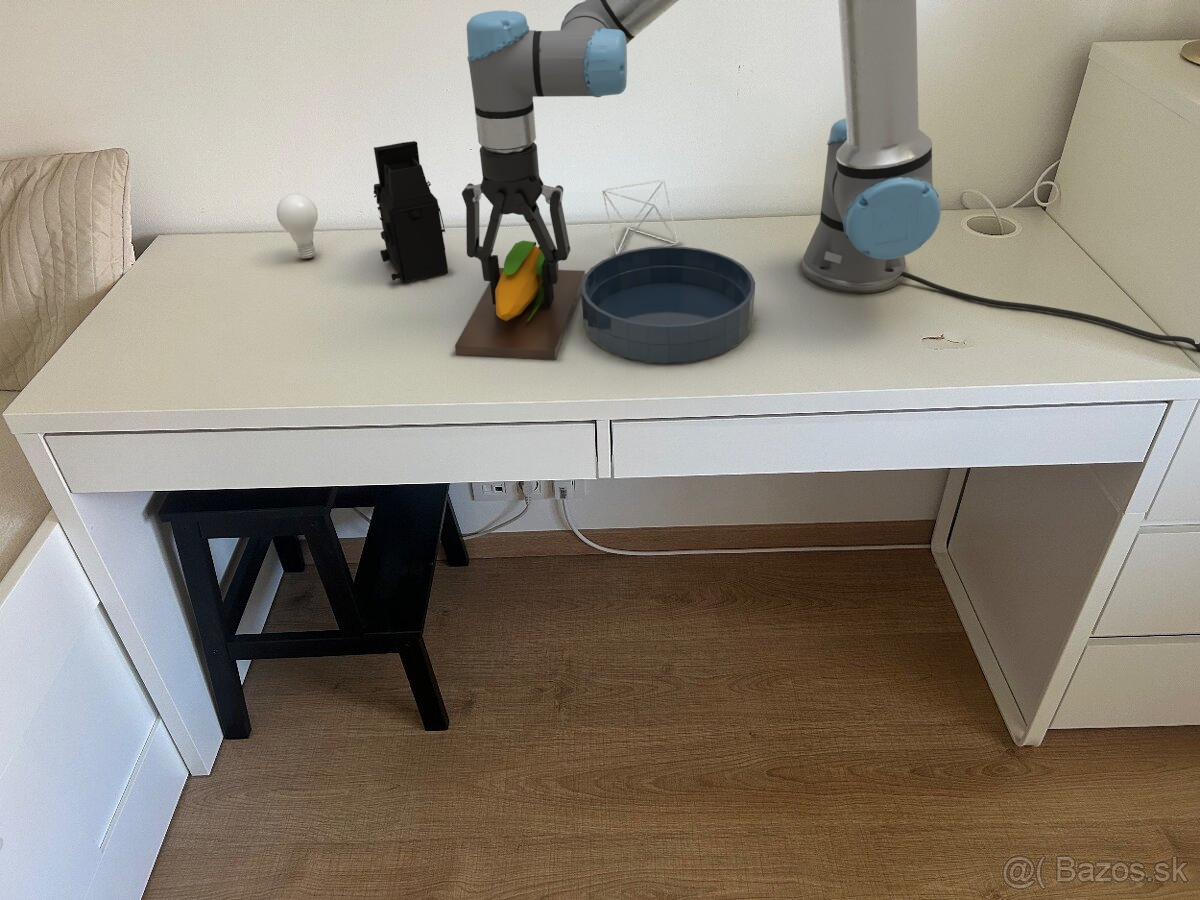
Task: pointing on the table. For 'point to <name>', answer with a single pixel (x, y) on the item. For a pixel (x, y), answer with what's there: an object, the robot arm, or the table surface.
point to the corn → (520, 281)
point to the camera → (408, 214)
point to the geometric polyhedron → (639, 213)
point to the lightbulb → (299, 221)
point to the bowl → (667, 304)
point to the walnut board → (522, 324)
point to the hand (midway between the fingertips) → (523, 301)
